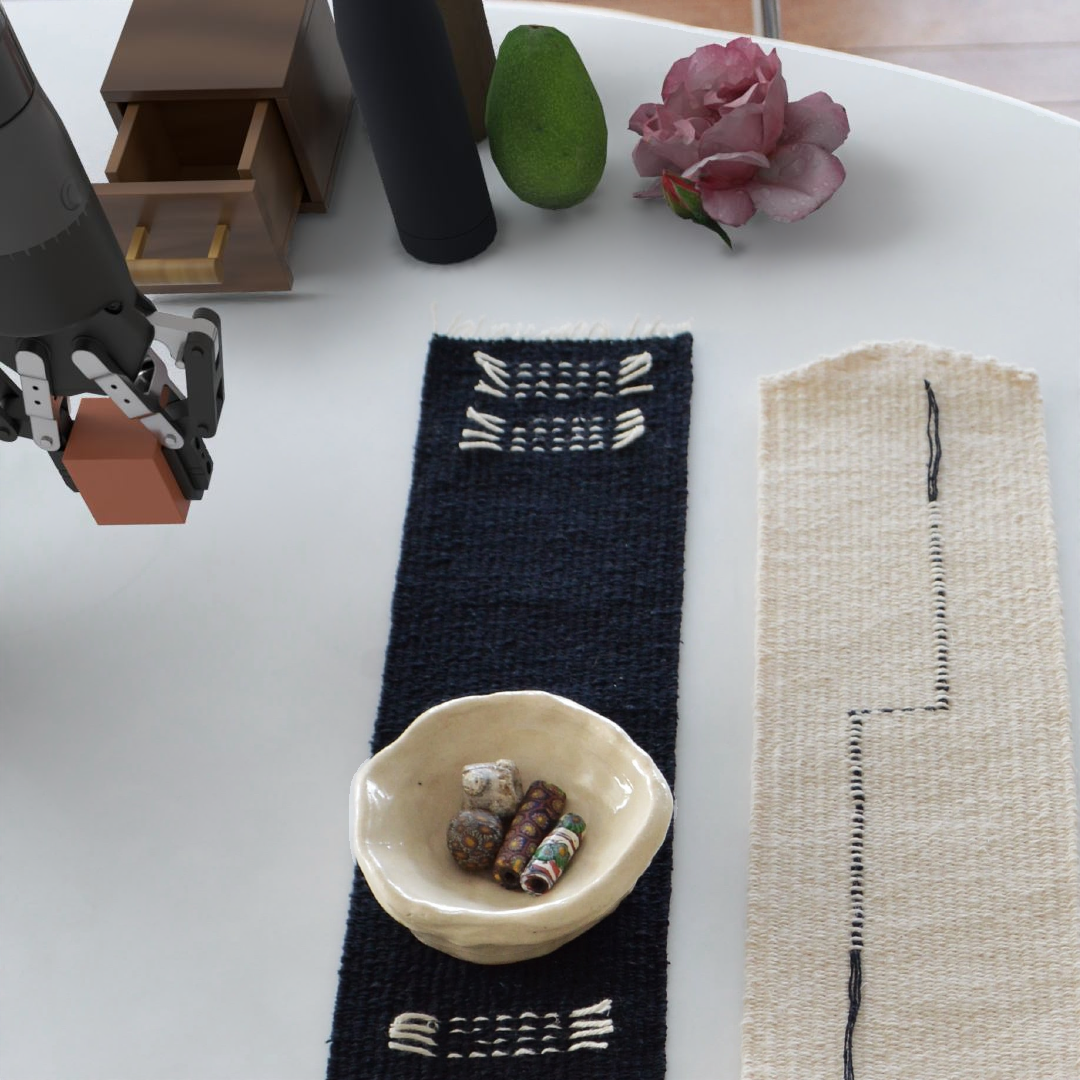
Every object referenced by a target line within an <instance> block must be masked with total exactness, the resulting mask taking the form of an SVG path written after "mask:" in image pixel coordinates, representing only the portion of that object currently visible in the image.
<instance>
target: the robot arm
mask: <svg viewBox="0 0 1080 1080" xmlns="http://www.w3.org/2000/svg"><path fill="white" fill-rule="evenodd" d="M91 183H92V182H91V179H90V178H89V176H88V174H87V171H86V169H85V167H84V164H83V163H82V160H81V158H80V156H79V153H78V151H77V149H76V147H75V145H74V143H73V140H72V138H71V136H70V134H69V131H68V129H67V127H66V125H65V123H64V121H63V119H62V118H61V116H60V115H59V113H58V111H57V109H56V108H55V106H54V104H53V103H52V101H51V100H50V98H49V96H48V95H47V93H46V92H45V91H44V89H43V87H42V86H41V83H40V81H39V80H38V78H37V76H36V74H35V72H34V71H33V68H32V66H31V63H30V62H29V60H28V58H27V56H26V53H25V51H24V49H23V47H22V45H21V42H20V40H19V38H18V36H17V34H16V32H15V29H14V27H13V25H12V23H11V21H10V19H9V16H8V14H7V12H6V10H5V7H4V5H3V3H2V1H1V0H0V363H1V364H3V365H4V366H6V367H7V368H9V369H10V370H12V371H13V372H15V373H16V374H17V375H18V376H19V380H20V385H21V388H20V386H19V385H17V384H16V382H15V381H14V380H13V379H12V378H11V376H9V375H8V374H7V373H6V372H5V370H3V369H2V368H1V367H0V441H1V442H5V443H13V442H15V441H17V440H18V438H24V439H28V440H32V441H33V443H34V444H35V445H36V446H37V447H38V448H40V449H41V450H44V451H46V452H47V454H48V456H49V458H50V460H51V461H52V463H53V465H54V467H55V468H56V470H57V471H58V473H59V475H60V477H61V479H62V480H63V482H64V484H65V485H66V487H67V488H69V490H70V491H72V492H73V493H80V492H79V491H78V489H77V487H76V485H75V483H74V482H73V480H72V478H71V476H70V474H69V473H68V471H67V469H66V467H65V465H64V464H63V462H62V458H63V455H64V452H65V449H66V445H67V442H68V439H69V436H70V433H71V430H72V427H73V424H74V420H75V419H72V417H71V414H72V405H71V397H74V396H78V395H82V394H92V395H98V396H104V397H108V398H111V399H112V400H113V402H114V403H115V404H116V405H117V406H118V407H119V408H120V409H121V410H122V411H123V412H124V414H125V415H126V416H127V417H128V418H130V419H132V420H134V419H139V420H140V421H141V423H142V424H143V425H144V426H145V427H146V428H147V429H148V430H149V431H150V432H151V434H152V435H153V436H154V437H155V438H156V439H157V440H158V441H159V442H160V443H161V444H162V447H161V451H162V453H163V455H164V457H165V459H166V461H167V463H168V465H169V467H170V470H171V472H172V474H173V476H174V478H175V480H176V482H177V484H178V486H179V488H180V490H181V492H182V494H183V496H184V498H185V500H187V501H191V502H192V501H202V500H203V497H204V493H205V491H208V490H209V488H210V484H211V480H212V475H213V471H214V460H213V458H212V456H211V454H210V452H209V449H208V448H207V446H206V444H205V441H204V439H212V438H214V437H215V436H216V434H217V430H218V426H219V423H220V419H221V416H222V412H223V408H224V403H225V400H226V393H225V392H226V391H225V389H226V388H225V372H224V371H225V370H224V355H223V336H222V319H221V316H220V315H219V314H218V313H217V311H215V310H214V309H212V308H209V307H204V306H202V307H201V306H200V307H197V308H196V309H195V310H194V311H193V314H192V318H191V317H187V316H181V315H177V314H171V313H166V312H161V311H158V309H157V307H156V306H155V304H154V303H153V301H152V300H150V299H149V298H148V296H146V294H145V295H144V294H143V293H141V292H140V291H139V289H138V288H137V287H136V286H135V284H134V283H133V281H132V278H131V276H130V272H129V269H128V266H127V263H126V260H125V257H124V254H123V252H122V250H121V247H120V245H119V243H118V241H117V239H116V237H115V234H114V232H113V230H112V228H111V226H110V223H109V221H108V219H107V217H106V215H105V212H104V210H103V208H102V206H101V204H100V201H99V199H98V197H97V195H96V193H95V191H94V188H93V186H92V184H91ZM154 341H157V342H159V343H161V344H163V345H164V346H165V347H166V349H167V350H168V352H169V355H170V357H171V359H173V360H174V366H175V367H176V368H177V369H179V370H185V371H184V373H185V374H184V375H185V387H186V395H184V394H183V392H182V391H181V389H179V388H178V386H177V384H175V382H173V381H172V379H171V378H170V376H169V373H168V368H167V366H166V363H165V362H164V361H163V359H161V357H160V356H159V355H158V354H157V352H156V351H155V350H154V349H153V348H152V345H153V342H154ZM82 500H83V501H84V499H83V498H82Z"/></svg>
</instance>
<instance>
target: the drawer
mask: <svg viewBox="0 0 1080 1080" xmlns="http://www.w3.org/2000/svg"><path fill="white" fill-rule="evenodd" d="M103 172H104V175H105V178H106V180H107V181H108V182H91V184H92V186H93V188H94V191H95V193H96V195H97V197H98V199H99V201H100V204H101V206H102V208H103V210H104V212H105V215H106V217H107V219H108V221H109V223H110V226H111V228H112V230H113V232H114V234H115V237H116V239H117V241H118V243H119V245H120V247H121V250H122V252H123V254H124V257H125V260H126V263H127V266H128V269H129V272H130V276H131V278H132V281H133V283H134V284H135V286H136V287H137V288H138V289H139V291H140V292H141V293H143V294H144V295H145V296H146V295H179V294H181V295H182V294H183V295H184V294H187V295H189V294H222V293H223V294H226V293H227V294H228V293H230V294H231V293H267V292H269V293H271V292H273V293H274V292H292V290H293V286H294V281H295V278H294V275H293V272H292V270H291V267H290V265H289V261H288V259H287V257H288V253H289V249H290V246H291V242H292V238H293V233H294V229H295V226H296V222H297V218H298V214H299V213H298V210H299V207H300V203H301V199H302V195H303V191H304V187H305V181H304V178H303V175H302V173H301V170H300V167H299V164H298V161H297V159H296V156H295V153H294V150H293V147H292V144H291V142H290V139H289V136H288V133H287V130H286V128H285V125H284V122H283V119H282V116H281V113H280V111H279V108H278V105H277V102H276V98H266V99H221V100H177V101H132V102H129V103H128V106H127V109H126V112H125V115H124V118H123V120H122V123H121V126H120V129H119V132H118V131H117V135H116V137H115V140H114V143H113V146H112V149H111V152H110V155H109V157H108V160H107V163H106V165H105V168H104V171H103Z"/></svg>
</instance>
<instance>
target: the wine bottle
mask: <svg viewBox="0 0 1080 1080" xmlns="http://www.w3.org/2000/svg"><path fill="white" fill-rule="evenodd" d="M331 1H332V2H331V3H332V12H333V13H332V15H333V20H334V23H335V28H336V35H337V40H338V43H339V46H340V49H341V52H342V56H343V59H344V62H345V65H346V68H347V72H348V75H349V78H350V81H351V84H352V87H353V91H354V94H355V100H356V103H357V106H358V110H359V113H360V116H361V119H362V122H363V126H364V128H365V131H366V135H367V139H368V141H369V145H370V147H371V151H372V155H373V158H374V160H375V163H376V166H377V170H378V173H379V176H380V179H381V183H382V186H383V189H384V193H385V195H386V198H387V203H388V205H389V208H390V212H391V215H392V218H393V222H394V224H395V227H396V231H397V233H398V237H399V240H400V243H401V245H402V246H403V248H404V251H406V253H407V254H409V255H410V256H411V257H413V258H414V259H416V260H418V261H421V262H423V263H427V264H434V265H451V264H458V263H462V262H465V261H468V260H471V259H474V258H475V257H477V256H478V255H480V254H482V253H483V252H485V251H486V250H487V249H488V248H489V247H490V246H491V245H492V244H493V242H494V241H495V238H496V236H497V233H498V223H497V219H496V215H495V211H494V207H493V203H492V199H491V195H490V192H489V188H488V184H487V180H486V175H485V172H484V168H483V165H482V161H481V156H480V152H479V149H478V145H477V144H478V143H476V141H475V137H474V133H473V129H472V125H471V121H470V117H469V113H468V110H467V106H466V102H465V98H464V94H463V90H462V86H461V82H460V78H459V75H458V71H457V67H456V63H455V59H454V55H453V51H452V47H451V43H450V40H449V36H448V32H447V28H446V24H445V20H444V16H443V14H442V11H441V9H440V7H439V4H438V2H437V0H331Z"/></svg>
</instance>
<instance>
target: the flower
mask: <svg viewBox="0 0 1080 1080" xmlns="http://www.w3.org/2000/svg"><path fill="white" fill-rule="evenodd" d="M782 67H783V65H782V61H781V59H780V57H779V56H778V54H777V48H776V47H773V48H772V49H771V51H770V52H769V54H768V55H767V54H766V52H765V51H764V50H763V49H762V47H761V45H759V43H758V42H753V41H752V37H750V36H749V37H747V36H740V37H737V38H734V39H732V40H730V41H729V42H726V46H723V45H722V44H718V43H711V44H710V43H709V44H705V45H703V46H699V47H696V48H695V51H694V52H693V53H692V54H691V55H690V56H686V57H681V58H679V59H677V60H675V61H674V62H673V64H672V65H671V66H670V69H669V70H668V72H667V73H666V75H665V77H664V80H663V82H662V85H661V86H662V87H661V91H660V96H661V100H662V103H659V102H658V103H653V102H645V103H641V104H640V105H639V106H638V107H637V108H636V109H635V111H634V112H633V113H632V114H631V116H630V117H629V120H628V127H627V130H628V131H630V132H633V133H636V134H637V135H638V136H639V137H640V138H639V140H638V141H637V143H636V144H635V145H634V148H633V150H632V151H631V159H632V164H633V165H634V167H635V169H636V171H637V173H638V175H639V177H640V178H656V177H657V178H656V179H655V180H654V181H653V182H652V183H651V184H650V185H649V186H648V188H647V189H646V190H640V191H638V192H633V193H631V196H632V197H631V198H632V199H637V200H645V199H646V200H648V199H662V198H663V199H664V201H665V204H666V207H669V208H670V209H671V210H672V212H673V213H674V214H675V215H676V216H677V217H678V218H680V219H682V220H683V221H689V220H691V221H692V223H694V224H697V225H700V226H703V227H705V228H706V229H708V230H710V231H712V232H714V233H716V234H717V235H718V236H719V237H720V238H721V239H722V241H723V242H724V243H725V244H726V245H727V246H728V247H729V248H730V249H731V251H732V252H733V250H734V249H733V245H732V240H731V239H730V237H729V234H728V233H727V232H726V231H725V230H724V229H723V227H721V225H720V223H721V224H722V225H726V226H731V227H734V228H735V229H736V228H740V227H741V226H745V225H746V224H747V223H748V221H749V220H750V219H751V218H753V217H754V216H755V214H756V213H757V211H758V210H759V211H761V212H762V213H764V215H765V216H766V217H768V218H769V219H770V220H772V221H779V222H783V223H788V224H791V223H794V222H797V221H801V220H804V219H805V218H807V217H808V216H809V215H812V213H814V212H816V211H818V210H819V209H820V208H821V207H822V206H823V205H824V204H825V203H827V202H829V201H831V199H832V197H833V196H834V194H835V193H836V192H837V191H838V189H840V187H841V186H842V185H843V184H844V182H845V179H846V177H847V172H846V169H845V166H844V164H843V163H842V162H841V160H840V159H839V158H838V156H837V155H834V154H833V153H834V152H835V151H837V150H838V149H839V148H840V147H842V146H843V145H844V144H845V141H846V140H847V139H848V135H849V133H850V132H851V127H850V123H849V119H848V114H847V110H846V108H845V106H844V105H842V104H841V103H838V102H834V100H833V99H832V97H831V96H830V95H829V94H828V93H827V92H825V91H822V90H819V91H817V92H813V93H811V94H809V95H807V96H805V97H802V98H801V99H799V100H795V101H789V93H788V92H789V91H788V86H787V80H786V79H785V78H784V76H783V68H782Z"/></svg>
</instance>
